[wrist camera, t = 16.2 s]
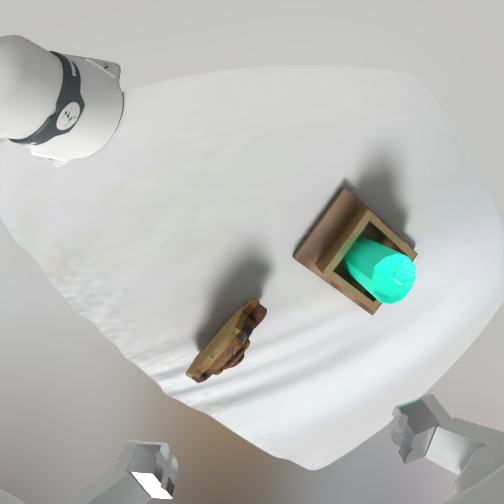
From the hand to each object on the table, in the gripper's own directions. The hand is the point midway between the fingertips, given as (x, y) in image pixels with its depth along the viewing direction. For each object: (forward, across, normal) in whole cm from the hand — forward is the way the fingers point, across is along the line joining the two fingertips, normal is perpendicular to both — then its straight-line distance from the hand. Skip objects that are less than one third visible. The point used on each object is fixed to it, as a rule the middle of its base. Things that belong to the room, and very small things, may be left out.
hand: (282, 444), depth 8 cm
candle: (+32, -15, +4) cm, 35 cm away
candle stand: (+33, -15, +4) cm, 36 cm away
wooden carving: (+33, +6, +12) cm, 36 cm away
